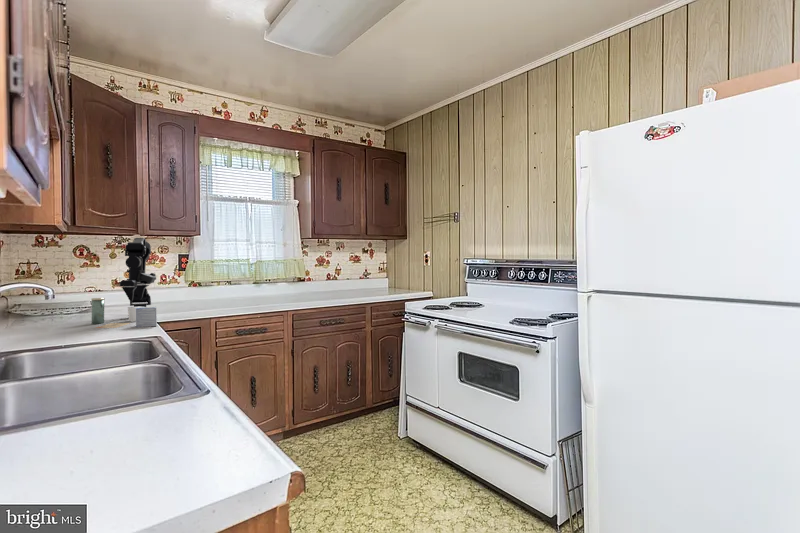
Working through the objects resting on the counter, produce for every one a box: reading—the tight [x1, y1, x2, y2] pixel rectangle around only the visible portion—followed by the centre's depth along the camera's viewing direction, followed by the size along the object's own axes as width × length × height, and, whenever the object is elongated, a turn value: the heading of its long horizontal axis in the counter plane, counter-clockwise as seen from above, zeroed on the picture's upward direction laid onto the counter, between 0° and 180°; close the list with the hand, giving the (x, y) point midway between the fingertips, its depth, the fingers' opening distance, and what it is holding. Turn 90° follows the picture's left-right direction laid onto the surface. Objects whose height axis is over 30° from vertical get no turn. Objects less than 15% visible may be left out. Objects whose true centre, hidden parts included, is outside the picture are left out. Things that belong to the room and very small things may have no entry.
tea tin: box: [91, 297, 106, 325], centre depth 197 cm, size 5×5×12 cm
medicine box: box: [135, 306, 158, 328], centre depth 191 cm, size 8×4×9 cm, turn 118°
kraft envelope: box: [95, 322, 131, 329], centre depth 192 cm, size 14×9×1 cm, turn 8°
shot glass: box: [127, 306, 142, 322], centre depth 207 cm, size 7×7×7 cm
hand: (135, 300), depth 207 cm, fingers open, 9 cm apart
